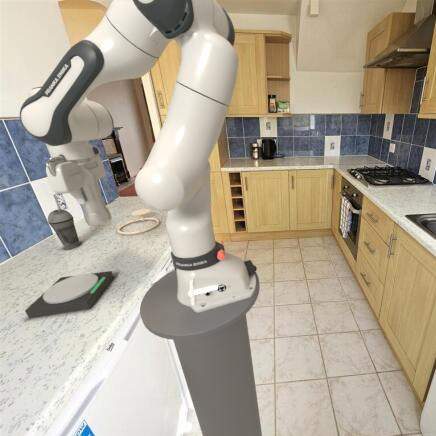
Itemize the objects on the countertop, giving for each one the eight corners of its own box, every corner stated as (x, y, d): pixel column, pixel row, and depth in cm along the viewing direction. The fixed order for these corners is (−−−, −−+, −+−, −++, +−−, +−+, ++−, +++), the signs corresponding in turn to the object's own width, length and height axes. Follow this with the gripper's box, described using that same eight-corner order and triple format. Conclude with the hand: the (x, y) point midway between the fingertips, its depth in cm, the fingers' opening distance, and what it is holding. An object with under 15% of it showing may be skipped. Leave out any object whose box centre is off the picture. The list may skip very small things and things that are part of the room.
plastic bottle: (95, 222, 79) (69, 160, 71) (117, 219, 80) (94, 158, 72) (83, 230, 73) (53, 164, 65) (108, 227, 74) (81, 162, 66)
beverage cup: (59, 246, 97) (37, 199, 89) (82, 240, 102) (63, 194, 94) (61, 253, 92) (38, 203, 84) (85, 245, 97) (65, 198, 89)
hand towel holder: (109, 229, 101) (123, 211, 119) (112, 238, 103) (125, 219, 121) (153, 222, 106) (161, 206, 124) (156, 231, 107) (163, 214, 125)
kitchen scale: (114, 277, 77) (110, 268, 76) (90, 308, 65) (85, 299, 63) (63, 284, 75) (59, 275, 74) (29, 318, 62) (23, 308, 61)
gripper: (59, 157, 59) (81, 210, 65) (101, 147, 77) (116, 189, 83) (29, 159, 58) (54, 212, 63) (79, 148, 76) (95, 190, 82)
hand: (89, 199), depth 73 cm, fingers closed on plastic bottle, 5 cm apart
